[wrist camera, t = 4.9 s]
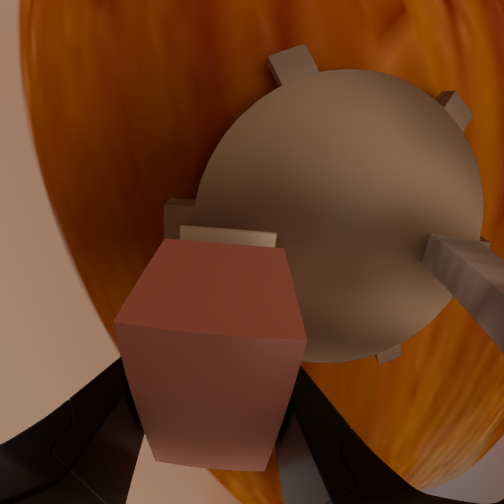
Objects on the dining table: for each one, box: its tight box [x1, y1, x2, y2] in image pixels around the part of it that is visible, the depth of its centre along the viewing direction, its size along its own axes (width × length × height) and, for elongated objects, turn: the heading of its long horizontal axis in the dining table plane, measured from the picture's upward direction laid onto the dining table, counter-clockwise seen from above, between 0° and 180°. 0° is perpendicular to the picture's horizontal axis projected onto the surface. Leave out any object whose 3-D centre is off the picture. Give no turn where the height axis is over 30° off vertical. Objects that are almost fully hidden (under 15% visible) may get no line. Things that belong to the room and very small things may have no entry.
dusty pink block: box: [113, 238, 307, 471], centre depth 8 cm, size 4×6×4 cm, turn 175°
